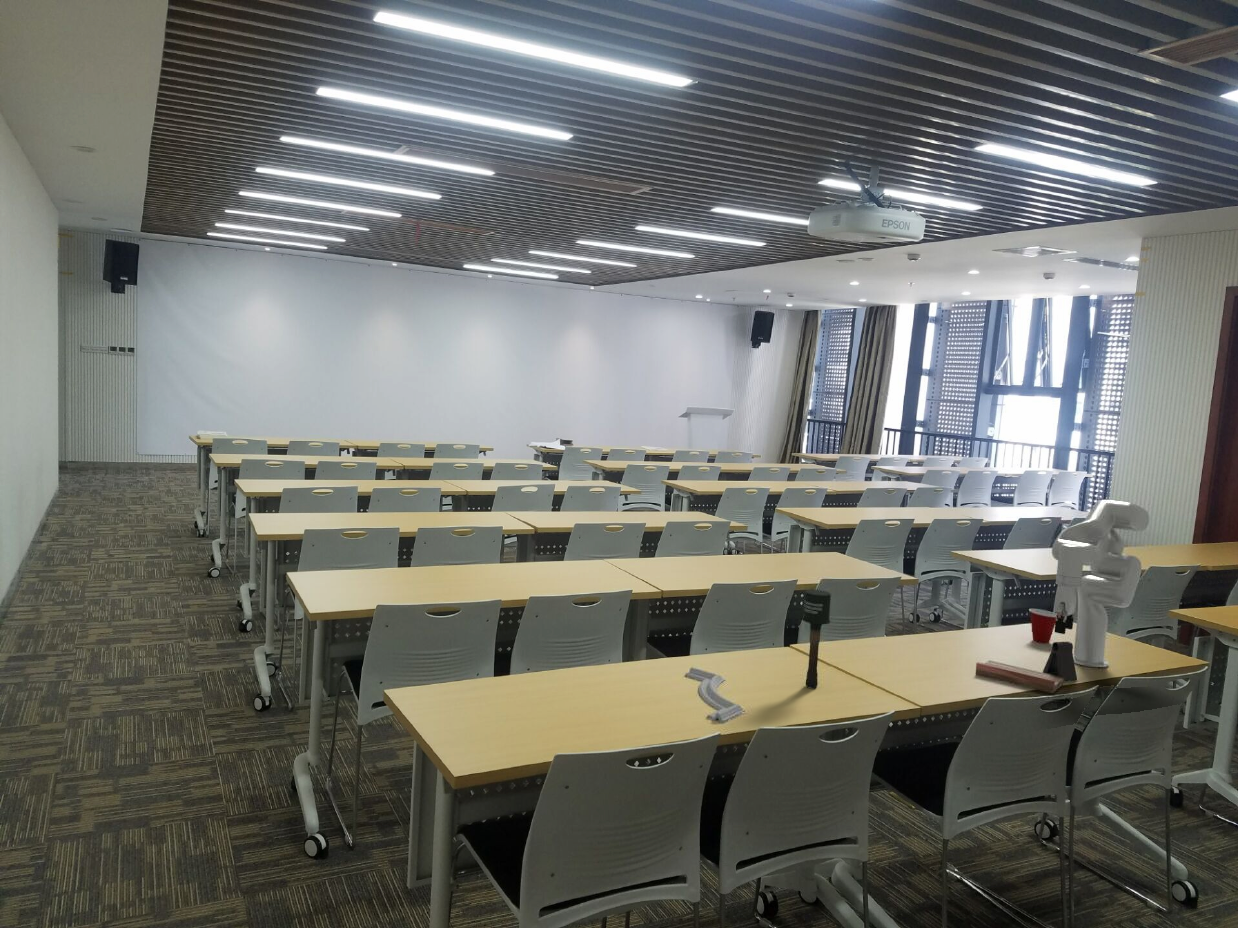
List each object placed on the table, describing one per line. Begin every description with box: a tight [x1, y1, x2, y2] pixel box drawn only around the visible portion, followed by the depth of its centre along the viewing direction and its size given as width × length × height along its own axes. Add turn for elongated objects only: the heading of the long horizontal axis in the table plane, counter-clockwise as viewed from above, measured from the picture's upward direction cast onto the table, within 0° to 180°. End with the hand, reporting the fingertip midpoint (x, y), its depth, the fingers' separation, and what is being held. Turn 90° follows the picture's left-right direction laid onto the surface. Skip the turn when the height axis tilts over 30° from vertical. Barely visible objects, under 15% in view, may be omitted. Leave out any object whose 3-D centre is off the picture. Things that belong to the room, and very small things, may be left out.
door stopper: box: [1042, 641, 1078, 682], centre depth 293 cm, size 9×6×12 cm, turn 17°
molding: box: [684, 666, 747, 724], centre depth 257 cm, size 42×12×3 cm, turn 6°
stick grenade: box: [801, 589, 832, 689], centre depth 268 cm, size 8×9×30 cm
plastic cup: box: [1028, 608, 1057, 645], centre depth 337 cm, size 11×11×12 cm
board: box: [975, 660, 1065, 694], centre depth 288 cm, size 14×24×4 cm, turn 50°
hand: (1063, 630), depth 292 cm, fingers open, 9 cm apart
